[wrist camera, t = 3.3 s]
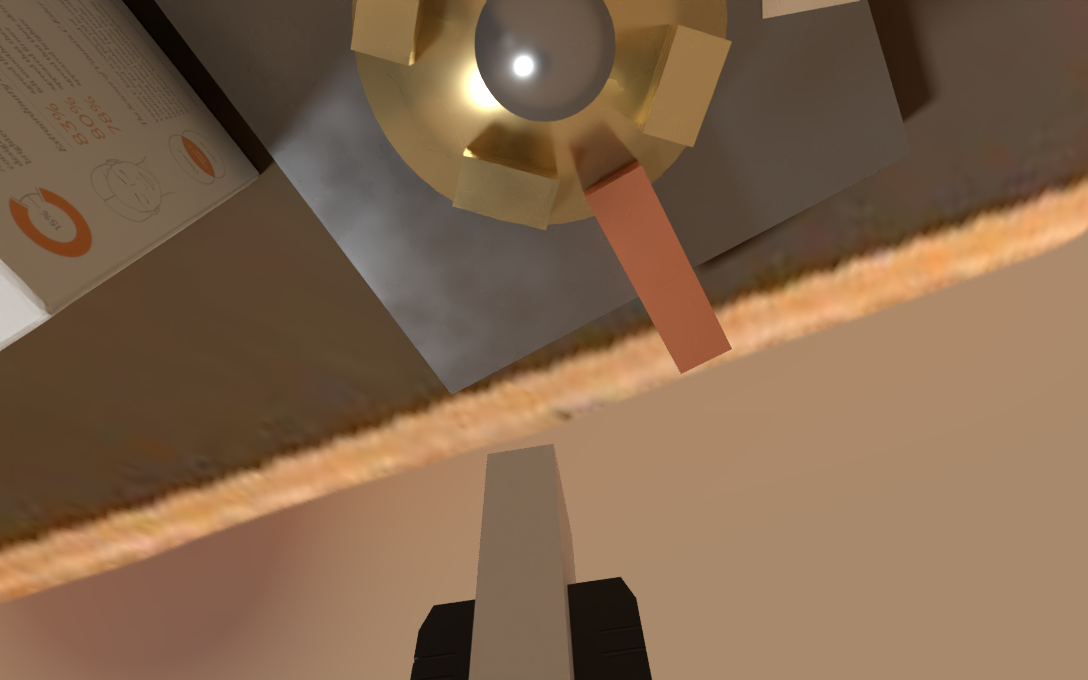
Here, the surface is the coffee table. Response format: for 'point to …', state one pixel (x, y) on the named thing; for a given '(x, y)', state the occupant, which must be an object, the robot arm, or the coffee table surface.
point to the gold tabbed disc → (559, 136)
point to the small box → (94, 153)
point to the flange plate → (571, 267)
